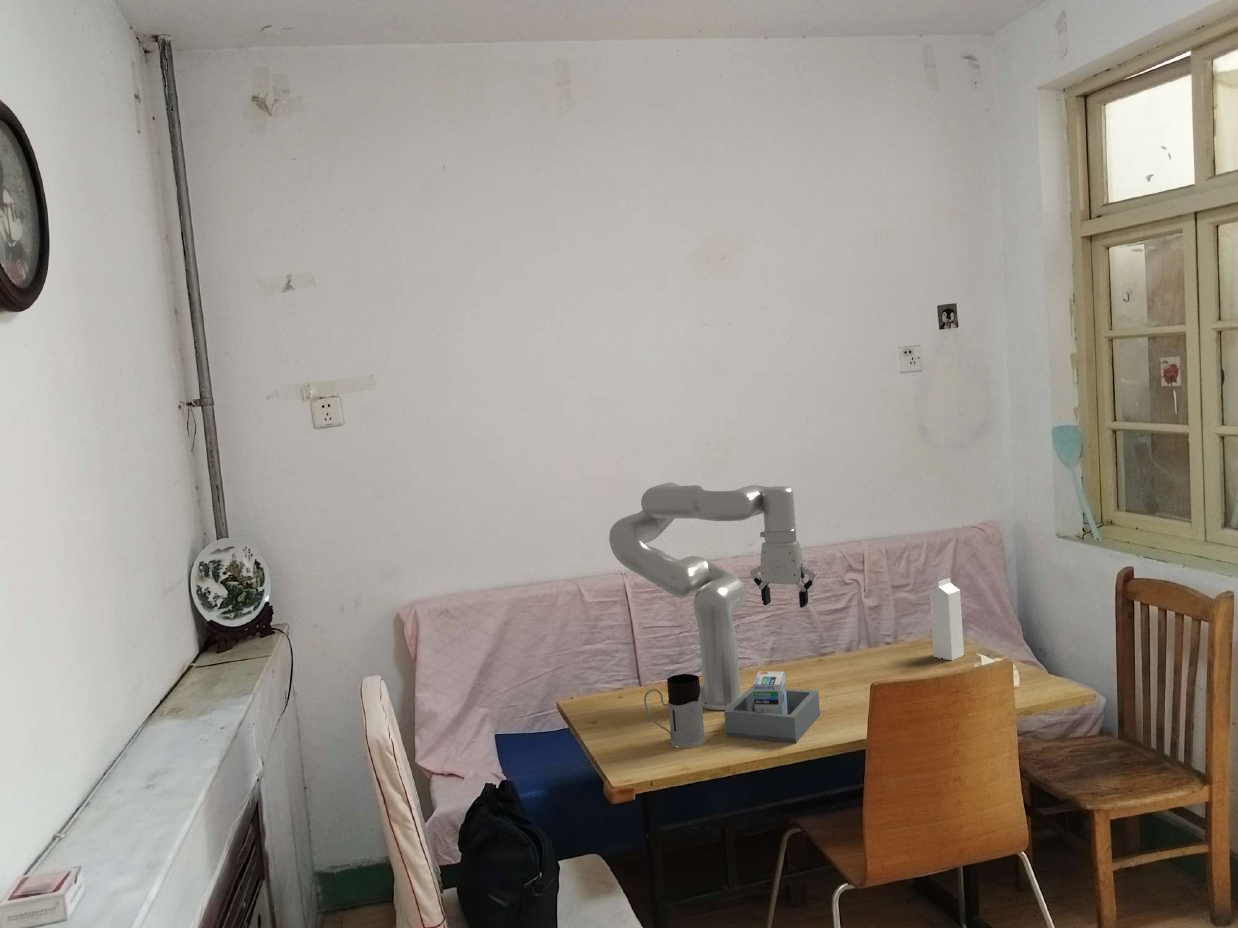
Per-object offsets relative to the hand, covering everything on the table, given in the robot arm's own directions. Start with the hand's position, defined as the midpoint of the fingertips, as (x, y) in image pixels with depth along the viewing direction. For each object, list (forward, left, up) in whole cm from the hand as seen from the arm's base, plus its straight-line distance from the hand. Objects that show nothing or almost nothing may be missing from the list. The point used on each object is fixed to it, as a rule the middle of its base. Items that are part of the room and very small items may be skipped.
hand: (785, 605), depth 244 cm
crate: (-1, -12, -27) cm, 29 cm away
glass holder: (-19, -28, -27) cm, 43 cm away
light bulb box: (-1, -12, -26) cm, 28 cm away
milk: (+29, +52, -27) cm, 65 cm away
